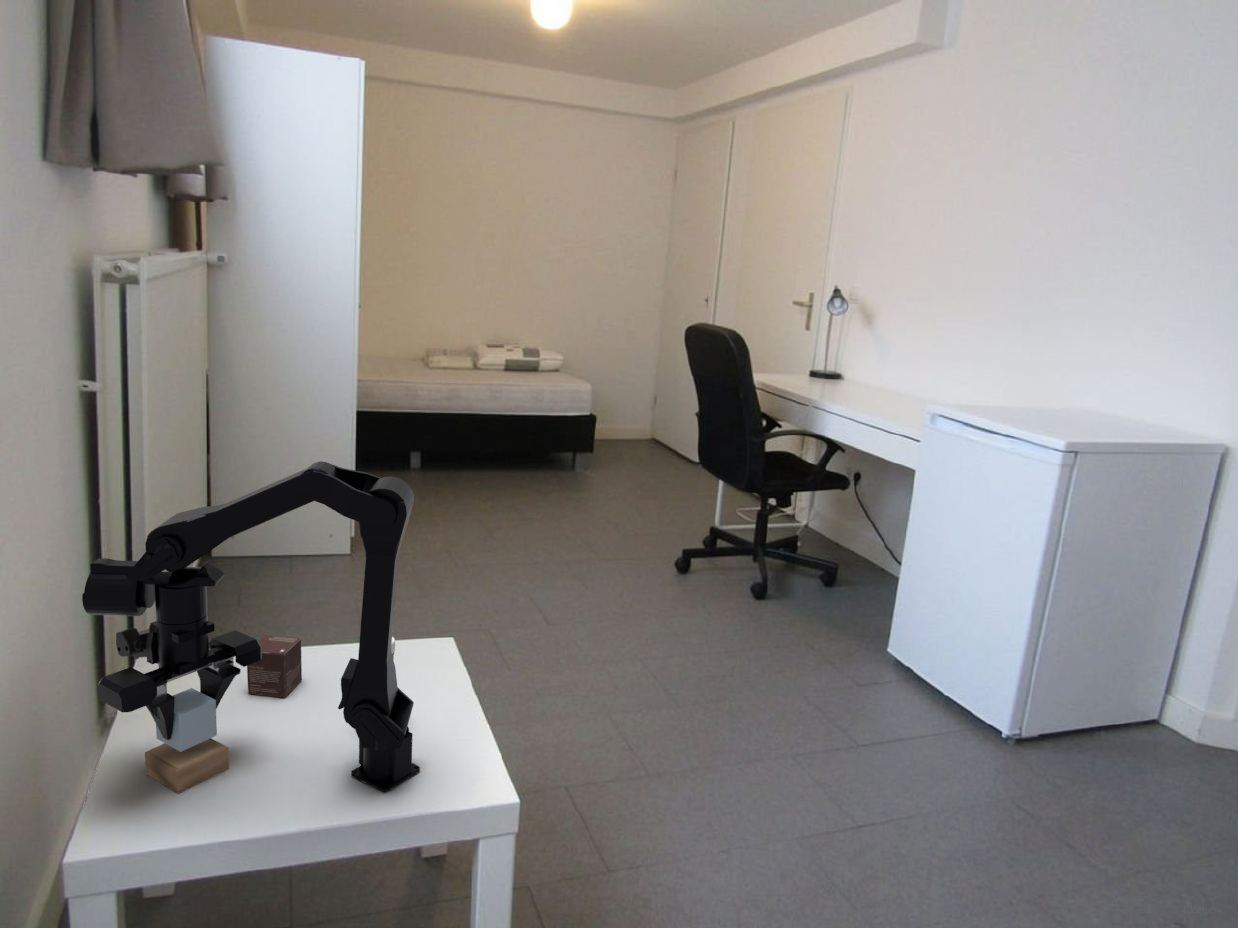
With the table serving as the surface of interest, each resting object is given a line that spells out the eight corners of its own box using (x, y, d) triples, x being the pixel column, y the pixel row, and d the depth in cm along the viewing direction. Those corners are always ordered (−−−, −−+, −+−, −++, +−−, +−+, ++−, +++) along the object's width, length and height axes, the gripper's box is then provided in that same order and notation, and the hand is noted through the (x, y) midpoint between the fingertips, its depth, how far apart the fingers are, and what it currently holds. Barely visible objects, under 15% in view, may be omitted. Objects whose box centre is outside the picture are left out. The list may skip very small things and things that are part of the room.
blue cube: (216, 735, 114) (215, 699, 113) (180, 751, 109) (178, 715, 108) (193, 722, 116) (191, 687, 115) (156, 738, 112) (154, 702, 111)
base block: (229, 768, 115) (228, 747, 114) (178, 793, 109) (177, 771, 108) (196, 749, 119) (195, 729, 118) (145, 773, 113) (144, 751, 112)
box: (302, 681, 139) (302, 637, 137) (285, 699, 133) (284, 654, 132) (265, 676, 140) (265, 633, 138) (246, 694, 134) (245, 649, 132)
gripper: (210, 579, 121) (214, 684, 124) (67, 621, 105) (76, 739, 109) (263, 600, 115) (265, 709, 119) (121, 647, 100) (128, 771, 103)
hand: (186, 729), depth 113 cm, fingers closed on blue cube, 5 cm apart
